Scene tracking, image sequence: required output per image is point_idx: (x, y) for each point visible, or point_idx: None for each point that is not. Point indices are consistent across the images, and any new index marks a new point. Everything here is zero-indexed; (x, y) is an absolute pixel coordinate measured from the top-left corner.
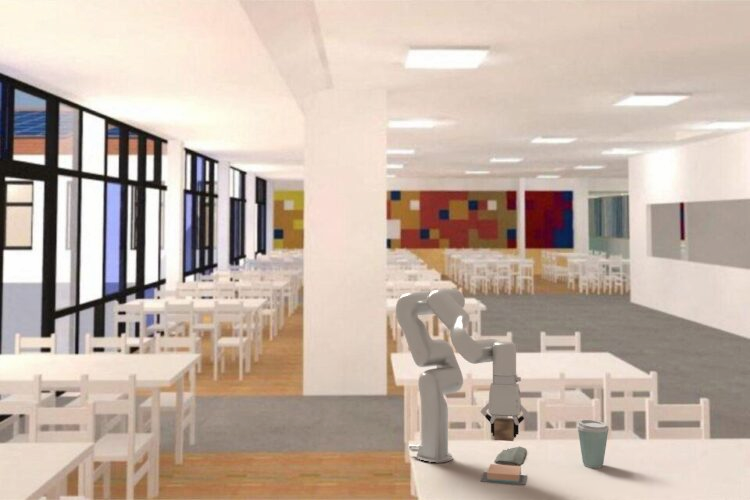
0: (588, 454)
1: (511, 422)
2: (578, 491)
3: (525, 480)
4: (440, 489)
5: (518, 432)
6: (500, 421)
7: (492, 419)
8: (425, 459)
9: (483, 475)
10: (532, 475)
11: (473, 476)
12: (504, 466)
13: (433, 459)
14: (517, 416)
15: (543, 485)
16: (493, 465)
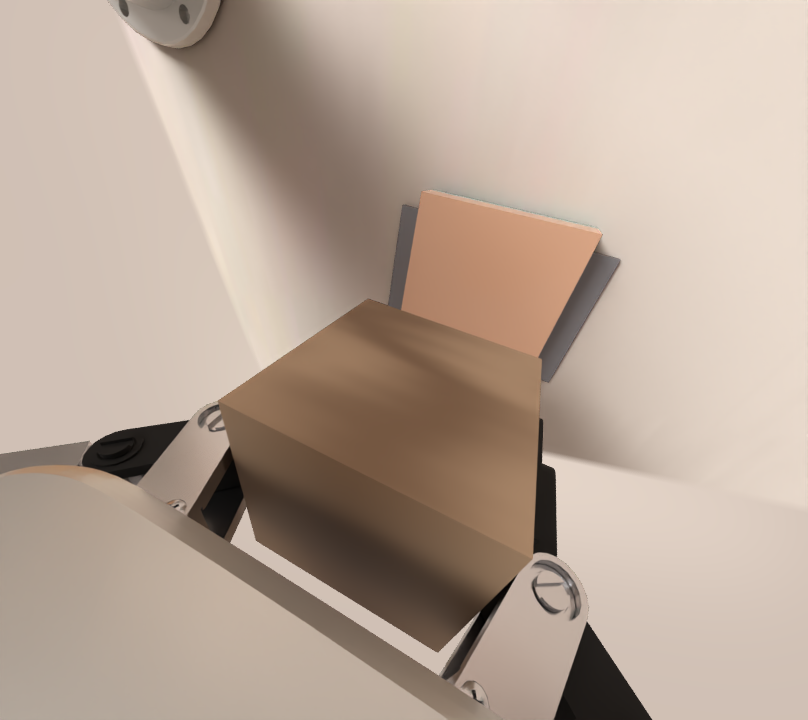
0: None
1: (419, 636)
2: (776, 482)
3: (571, 339)
4: None
5: (553, 473)
6: (308, 570)
7: (222, 507)
8: (140, 34)
9: (398, 263)
10: (668, 238)
11: (363, 261)
12: (491, 240)
13: (165, 33)
14: (547, 717)
15: (637, 393)
16: (434, 222)
